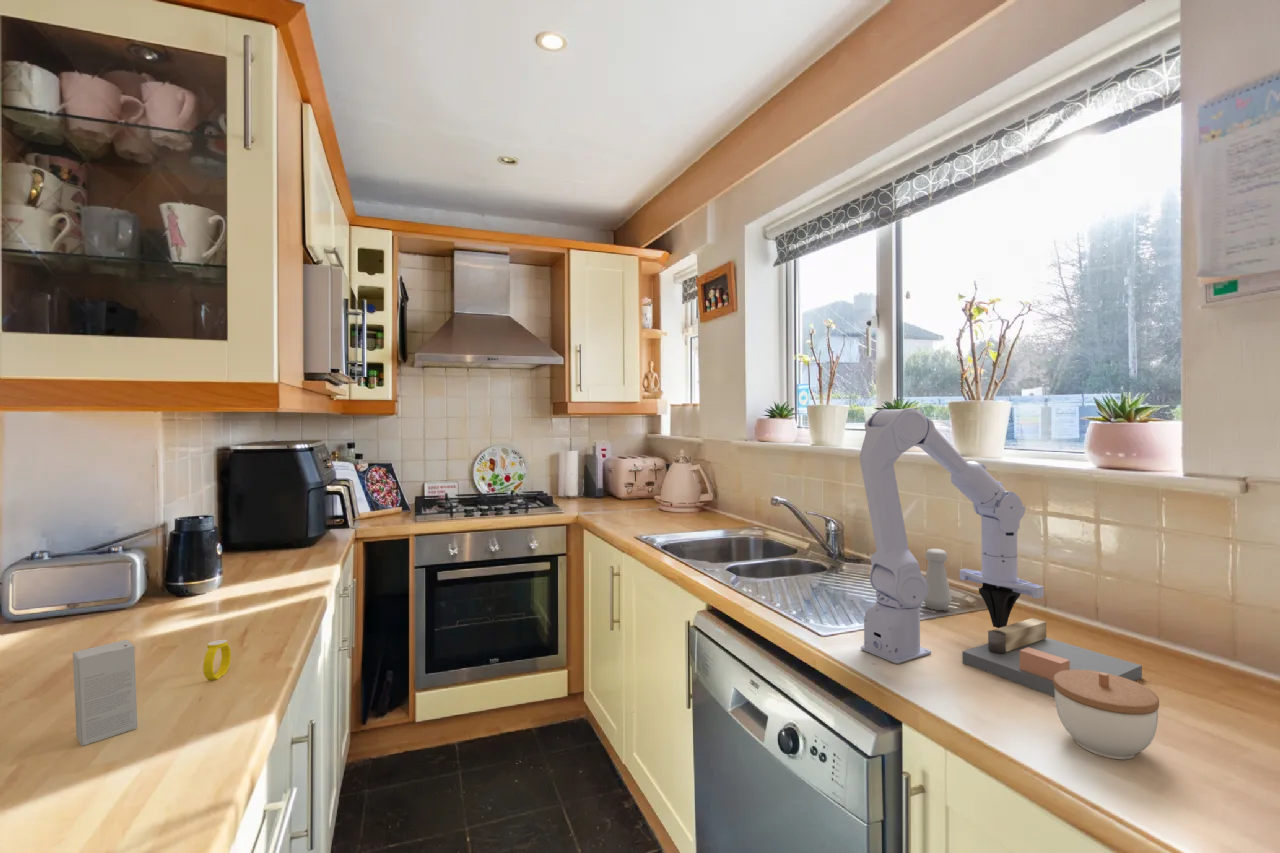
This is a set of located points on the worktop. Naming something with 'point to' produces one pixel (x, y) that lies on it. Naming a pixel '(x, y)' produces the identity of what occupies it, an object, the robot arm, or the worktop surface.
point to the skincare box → (105, 691)
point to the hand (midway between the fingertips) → (999, 626)
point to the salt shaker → (937, 580)
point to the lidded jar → (1106, 712)
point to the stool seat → (1046, 663)
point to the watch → (209, 659)
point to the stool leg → (1016, 635)
